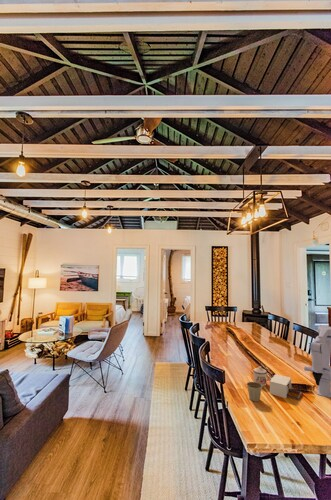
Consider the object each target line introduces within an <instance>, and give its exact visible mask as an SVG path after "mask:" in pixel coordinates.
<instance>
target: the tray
mask: <svg viewBox="0 0 331 500" xmlns="http://www.w3.org/2000/svg"><path fill="white" fill-rule="evenodd" d="M288 390H289V392H290V393H291V392H292V393H294V394H298V396H295V395H292V394H289V393H288V394H287V398H290V399H295V400H298V401H300V398H301V397H302V395H303V392H302V391H300V390H295V389H293V388H291V389H289V388H288Z"/></svg>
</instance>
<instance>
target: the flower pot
mask: <svg viewBox="0 0 331 500" xmlns="http://www.w3.org/2000/svg"><path fill="white" fill-rule="evenodd" d="M246 386H247V391H248V398H249V400H250V401H253V402H259V401H260V400H261V393H262V389H263V386H262V385H261V384H260V383H257V382H254V381H248V382H246Z"/></svg>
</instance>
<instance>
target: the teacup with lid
mask: <svg viewBox="0 0 331 500" xmlns="http://www.w3.org/2000/svg"><path fill="white" fill-rule="evenodd" d="M252 371H253V382H257V383H260V384H261V385H262V387H265V386H267V383H268V382H267V381H270V380H271V379H272V375H271V373H270V372H269V373H268V372H267V370H266V369H264V368H262V366H260V365H259V366H258V367H256V368H253V369H252ZM267 375H268V378H267Z"/></svg>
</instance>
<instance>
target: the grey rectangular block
mask: <svg viewBox="0 0 331 500" xmlns="http://www.w3.org/2000/svg"><path fill="white" fill-rule="evenodd" d="M288 384H289V385H288ZM287 385H288V386H289V388H290V389H292V377H290V376H285V375H280V374H277V373H275V374H274V375H273V376H272V377H271V378H270V380H269V395H274V396H277V397H280V398H283V399H287V398H288V397H287Z"/></svg>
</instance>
